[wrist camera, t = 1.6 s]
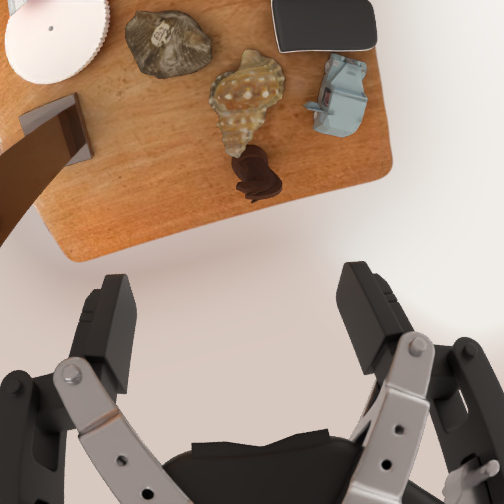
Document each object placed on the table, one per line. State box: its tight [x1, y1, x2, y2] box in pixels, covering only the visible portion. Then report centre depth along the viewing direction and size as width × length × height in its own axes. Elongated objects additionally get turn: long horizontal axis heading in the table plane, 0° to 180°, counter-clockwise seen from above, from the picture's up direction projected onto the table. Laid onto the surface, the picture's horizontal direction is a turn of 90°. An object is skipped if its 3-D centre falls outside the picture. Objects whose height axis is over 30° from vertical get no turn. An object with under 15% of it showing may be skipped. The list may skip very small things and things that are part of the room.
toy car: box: [303, 53, 368, 137], centre depth 34 cm, size 6×10×5 cm, turn 171°
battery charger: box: [271, 0, 377, 53], centre depth 28 cm, size 7×4×11 cm
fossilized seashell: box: [125, 10, 212, 79], centre depth 28 cm, size 8×7×10 cm
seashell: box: [209, 50, 285, 158], centre depth 33 cm, size 9×8×10 cm
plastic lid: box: [5, 0, 110, 85], centre depth 25 cm, size 14×14×2 cm
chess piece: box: [232, 145, 282, 203], centre depth 37 cm, size 5×5×10 cm
